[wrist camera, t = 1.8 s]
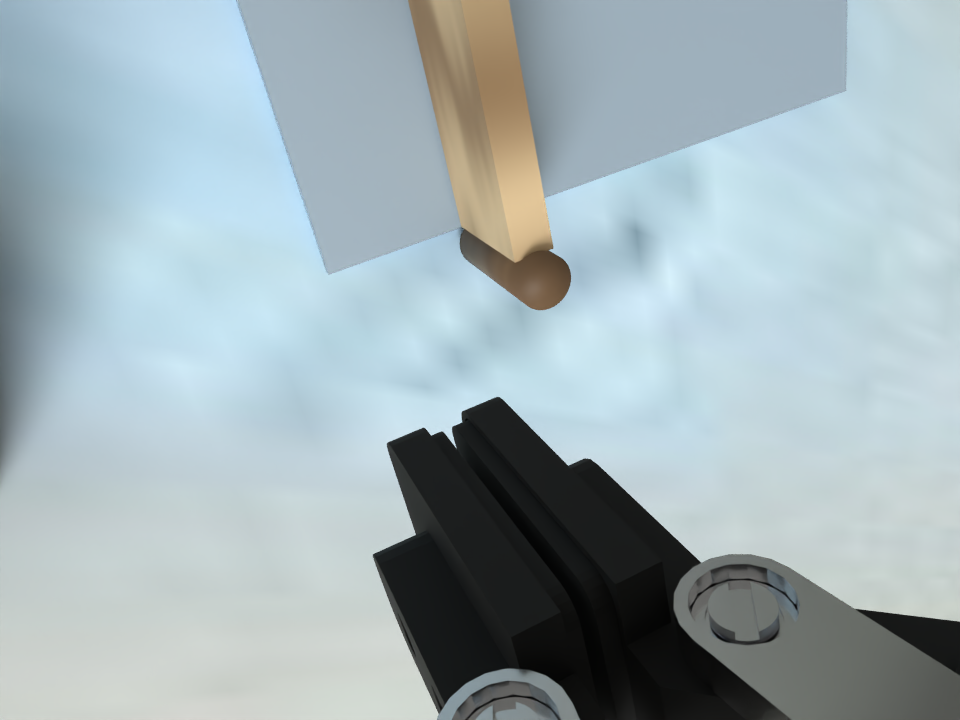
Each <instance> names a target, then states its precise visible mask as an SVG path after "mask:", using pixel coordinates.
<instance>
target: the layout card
mask: <svg viewBox="0 0 960 720" xmlns="http://www.w3.org/2000/svg"><path fill="white" fill-rule="evenodd" d="M236 1H237V4H238V7H239V10H240V13H241V16H242V19H243V22H244V25H245V28H246V31H247V34H248V37H249V40H250V43H251V46H252V49H253V52H254V55H255V58H256V61H257V64H258V67H259V70H260V73H261V76H262V79H263V82H264V85H265V88H266V91H267V94H268V97H269V100H270V103H271V106H272V109H273V112H274V115H275V118H276V121H277V124H278V127H279V130H280V133H281V136H282V139H283V142H284V145H285V148H286V151H287V154H288V157H289V160H290V163H291V166H292V169H293V172H294V175H295V178H296V181H297V184H298V187H299V190H300V193H301V196H302V199H303V202H304V205H305V208H306V211H307V214H308V217H309V220H310V223H311V226H312V229H313V232H314V235H315V238H316V241H317V244H318V247H319V250H320V253H321V256H322V259H323V262H324V265H325V268H326V271H327V273H328V274H332V273H335V272H337V271H340V270H343V269H346V268H349V267H352V266H354V265H357V264H360V263H363V262H366V261H368V260H371V259H374V258H377V257H380V256H382V255H385V254H388V253H391V252H394V251H397V250H399V249H402V248H405V247H408V246H411V245H413V244H416V243H419V242H422V241H425V240H427V239H430V238H433V237H436V236H439V235H442V234H444V233H447V232H450V231H453V230H456V229H458V228H461V223H460V219H459V215H458V210H457V206H456V202H455V198H454V193H453V189H452V185H451V181H450V177H449V172H448V168H447V164H446V160H445V155H444V151H443V147H442V143H441V138H440V134H439V130H438V126H437V122H436V117H435V113H434V109H433V105H432V100H431V96H430V92H429V88H428V83H427V79H426V75H425V71H424V67H423V62H422V58H421V54H420V50H419V45H418V41H417V37H416V33H415V28H414V24H413V20H412V16H411V11H410V7H409V3H408V0H236ZM509 4H510V9H511V15H512V20H513V26H514V32H515V37H516V43H517V48H518V54H519V59H520V65H521V71H522V76H523V82H524V87H525V93H526V98H527V104H528V110H529V115H530V121H531V126H532V132H533V137H534V143H535V149H536V154H537V160H538V165H539V171H540V176H541V182H542V188H543V193H544V198H546V197H548V196H551V195H554V194H557V193H560V192H563V191H565V190H568V189H571V188H574V187H577V186H579V185H582V184H585V183H588V182H591V181H593V180H596V179H599V178H602V177H605V176H608V175H610V174H613V173H616V172H619V171H622V170H624V169H627V168H630V167H633V166H636V165H638V164H641V163H644V162H647V161H650V160H653V159H655V158H658V157H661V156H664V155H667V154H669V153H672V152H675V151H678V150H681V149H683V148H686V147H689V146H692V145H695V144H698V143H700V142H703V141H706V140H709V139H712V138H714V137H717V136H720V135H723V134H726V133H728V132H731V131H734V130H737V129H740V128H743V127H745V126H748V125H751V124H754V123H757V122H759V121H762V120H765V119H768V118H771V117H773V116H776V115H779V114H782V113H785V112H788V111H790V110H793V109H796V108H799V107H802V106H804V105H807V104H810V103H813V102H816V101H818V100H821V99H824V98H827V97H830V96H833V95H835V94H838V93H841V92H844V91H846V51H847V0H509Z"/></svg>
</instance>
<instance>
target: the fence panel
mask: <svg viewBox="0 0 960 720" xmlns="http://www.w3.org/2000/svg"><path fill="white" fill-rule="evenodd" d="M408 3H409V7H410V11H411V16H412V20H413V24H414V28H415V33H416V37H417V41H418V45H419V50H420V54H421V58H422V62H423V67H424V71H425V75H426V79H427V83H428V88H429V92H430V96H431V100H432V105H433V109H434V113H435V117H436V122H437V126H438V130H439V134H440V138H441V143H442V147H443V151H444V155H445V160H446V164H447V168H448V172H449V177H450V181H451V185H452V189H453V193H454V198H455V202H456V206H457V210H458V215H459V219H460V223H461V227H463V228H464V230H463V232H462V234H461V238H460V249H461V252H462V254H463V256H464V257H465V259H466V260H468V261H469V262H470V263H471V264H473V265H474V266H475V267H477V268H478V269H479V270H481V271H482V272H483V273H485V274H486V275H487V276H489V277H490V278H491V279H493V280H494V281H495V282H497V283H498V284H499V285H501V286H502V287H503V288H505V289H506V290H507V291H509V292H510V293H511V294H512V295H514V296H515V297H516V298H518V299H519V300H520V301H522V302H523V303H524V304H526V305H527V306H528V307H530V308H532V309H535V310H546V309H549V308H552V307H554V306H555V305H557V304H558V303H559V302H560V301H561V300H562V299H563V298H564V297H565V295H566V294H567V292H568V289H569V287H570V282H571V273H570V269H569V267H568V265H567V263H566V262H565V261H564V260H563V259H562V258H560V257H559V256H557V255H555V254H554V253H552V252H550V251H549V250H550V249H553V243H552V238H551V232H550V227H549V221H548V215H547V210H546V204H545V199H544V193H543V188H542V182H541V176H540V171H539V165H538V160H537V154H536V149H535V143H534V137H533V132H532V126H531V121H530V115H529V110H528V104H527V98H526V93H525V87H524V82H523V76H522V71H521V65H520V59H519V54H518V48H517V43H516V37H515V32H514V26H513V20H512V15H511V9H510V4H509V0H408Z"/></svg>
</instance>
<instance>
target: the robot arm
mask: <svg viewBox="0 0 960 720" xmlns="http://www.w3.org/2000/svg"><path fill="white" fill-rule="evenodd" d="M462 422H463V423H460V424H458V425H456V426H453V427H452V432H453V437H454V440H455V444H456V447H457V449H456V448H455V446H454V445H453V444H452V442H451V441H450V440H449V439H448V437H447V436H446V435H445V434H444V433H443V432H439V433H437V434H434V435H432V436H431V435H430V434H429V432H428V431H427V430H426V429H425V428H422V429H419V430H417V431H414V432H412V433H410V434H407V435H405V436H402V437H400V438H398V439H395V440H393V441H390V442H388V443H387V448H388V452H389V455H390V458H391V461H392V464H393V467H394V470H395V473H396V476H397V479H398V482H399V485H400V488H401V491H402V494H403V497H404V500H405V503H406V506H407V509H408V512H409V515H410V518H411V521H412V524H413V527H414V530H415V533H416V535H415V536H413V537H410V538H408V539H406V540H404V541H402V542H399V543H397V544H395V545H393V546H391V547H388V548H386V549H384V550H382V551H380V552H377V553H375V554H373V558H374V561H375V564H376V567H377V569H378V572H379V575H380V578H381V580H382V583H383V586H384V588H385V591H386V594H387V596H388V599H389V601H390V604H391V607H392V609H393V612H394V614H395V617H396V619H397V621H398V624H399V626H400V629H401V631H402V633H403V636H404V638H405V640H406V643H407V645H408V647H409V650H410V652H411V654H412V656H413V659H414V661H415V663H416V665H417V667H418V669H419V672H420V674H421V676H422V678H423V680H424V682H425V685H426V687H427V689H428V691H429V693H430V696H431V698H432V700H433V702H434V704H435V706H436V709H437V711H438V713H439V715H438V718H437V720H960V622H957V621H949V620H941V619H933V618H925V617H917V616H908V615H900V614H892V613H884V612H876V611H868V610H860V609H854V608H852V607H851V606H849V605H848V604H846V603H844V602H843V601H841V600H840V599H838V598H836V597H835V596H833V595H832V594H830V593H829V592H827V591H825V590H824V589H822V588H821V587H819V586H817V585H816V584H814V583H813V582H811V581H810V580H808V579H806V578H805V577H803V576H802V575H800V574H799V573H797V572H795V571H794V570H792V569H791V568H789V567H787V566H785V565H783V564H780V563H778V562H776V561H774V560H772V559H769V558H764V557H760V556H755V555H751V554H729V555H724V556H720V557H715V558H711V559H708V560H706V561H704V562H702V563H701V562H700V561H699V560H698V559H697V558H696V557H695V556H693V555H692V554H691V553H690V552H689V551H688V550H687V549H686V548H685V547H684V546H683V545H682V544H681V543H680V542H679V541H678V540H677V539H676V538H674V537H673V536H672V535H671V534H670V533H669V532H668V531H667V530H666V529H665V528H664V527H663V526H662V525H661V524H660V523H659V522H658V521H657V520H655V519H654V518H653V517H652V516H651V515H650V514H649V513H648V512H647V511H646V510H645V509H644V508H643V507H642V506H641V505H640V504H639V503H638V502H637V501H635V500H634V499H633V498H632V497H631V496H630V495H629V494H628V493H627V492H626V491H625V490H624V489H623V488H622V487H621V486H620V485H619V484H618V483H616V482H615V481H614V480H613V479H612V478H611V477H610V476H609V475H608V474H607V473H606V472H605V471H604V470H603V469H602V468H601V467H600V466H599V465H597V464H596V463H595V462H593V461H592V460H591V459H583V460H580V461H578V462H576V463H574V464H572V465H569V466H568V465H567V464H566V463H565V462H564V461H563V460H562V459H561V458H560V457H559V456H558V455H557V454H556V453H555V452H554V451H553V450H552V449H551V448H550V447H549V446H548V445H547V444H546V443H545V442H544V441H543V440H542V439H541V438H540V437H539V436H538V435H537V434H536V433H535V432H534V431H533V430H532V429H531V428H530V427H529V426H528V425H527V424H526V423H525V422H524V421H523V420H522V419H521V418H520V417H519V416H518V415H517V414H516V413H515V412H514V411H513V410H512V409H511V408H510V407H509V406H508V404H507V403H506V402H505V401H504V400H503V399H501V398H500V397H496V398H493V399H491V400H488V401H486V402H484V403H481V404H479V405H477V406H474V407H472V408H469V409H467V410H465V411H462Z"/></svg>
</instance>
